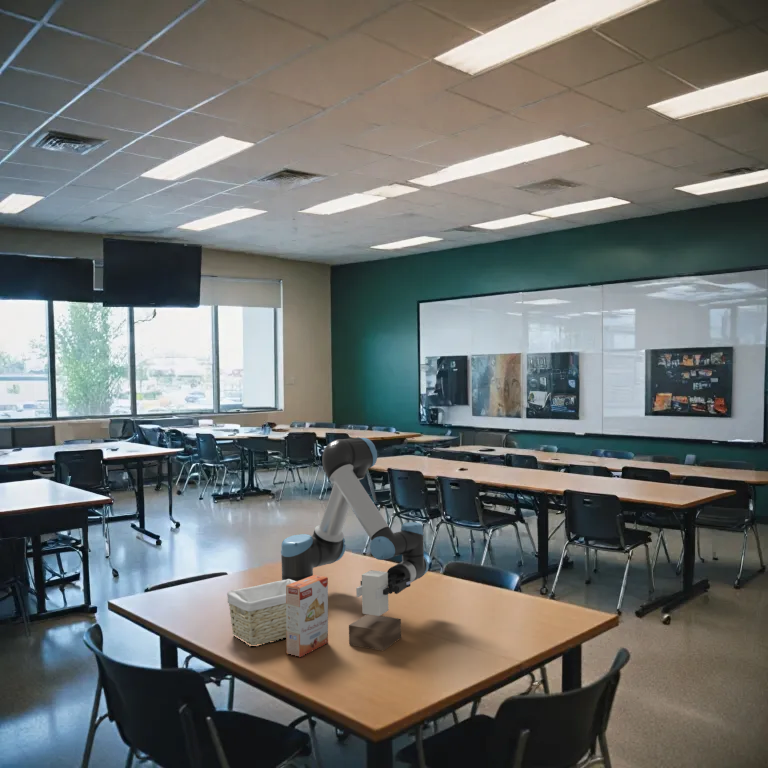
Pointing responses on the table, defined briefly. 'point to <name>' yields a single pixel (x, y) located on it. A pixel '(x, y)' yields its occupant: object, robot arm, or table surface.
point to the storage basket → (259, 612)
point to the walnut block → (375, 632)
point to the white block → (374, 592)
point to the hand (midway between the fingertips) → (367, 593)
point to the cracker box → (306, 615)
